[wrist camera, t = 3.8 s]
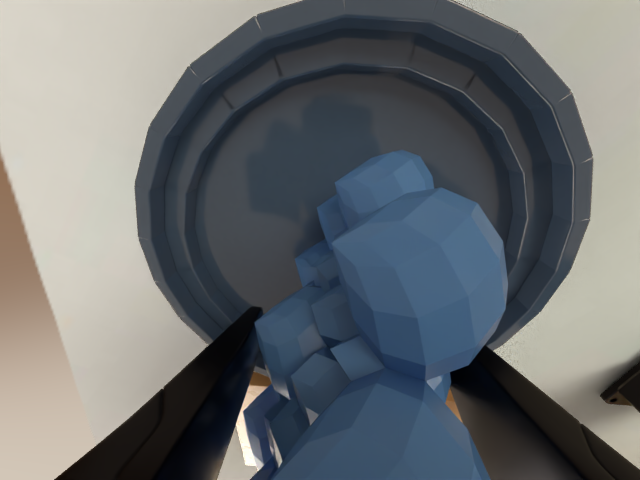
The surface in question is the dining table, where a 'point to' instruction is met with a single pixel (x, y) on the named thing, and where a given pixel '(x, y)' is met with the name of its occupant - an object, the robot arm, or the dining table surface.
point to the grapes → (379, 333)
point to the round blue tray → (355, 149)
